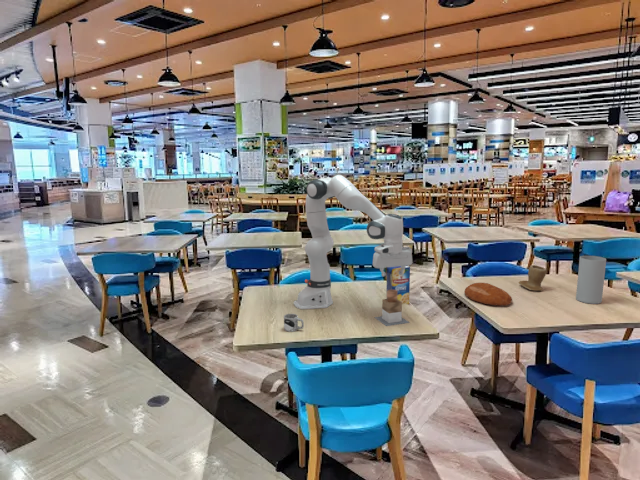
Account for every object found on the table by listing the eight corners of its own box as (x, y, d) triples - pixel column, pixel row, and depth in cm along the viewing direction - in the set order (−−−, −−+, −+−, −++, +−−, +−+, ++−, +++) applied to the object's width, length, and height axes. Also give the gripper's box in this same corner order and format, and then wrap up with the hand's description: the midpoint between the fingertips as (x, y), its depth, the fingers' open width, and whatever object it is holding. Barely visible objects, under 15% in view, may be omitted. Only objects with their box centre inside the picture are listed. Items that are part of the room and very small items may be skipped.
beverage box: (409, 305, 236) (410, 267, 232) (391, 307, 232) (392, 268, 229) (403, 301, 242) (404, 264, 238) (386, 303, 239) (386, 266, 235)
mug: (281, 330, 201) (281, 317, 200) (287, 325, 207) (287, 313, 206) (301, 333, 198) (300, 320, 196) (306, 328, 204) (306, 315, 203)
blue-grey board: (386, 329, 201) (386, 326, 201) (374, 320, 213) (374, 317, 213) (409, 325, 206) (410, 322, 205) (396, 316, 218) (396, 314, 217)
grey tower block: (388, 323, 205) (389, 313, 204) (382, 318, 211) (382, 308, 211) (401, 321, 207) (401, 311, 206) (394, 316, 214) (394, 307, 213)
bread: (489, 310, 227) (490, 294, 226) (453, 293, 257) (454, 279, 256) (522, 305, 234) (524, 290, 232) (484, 289, 264) (485, 276, 262)
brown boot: (548, 292, 257) (550, 268, 254) (529, 292, 257) (531, 268, 254) (536, 285, 271) (537, 262, 269) (517, 285, 272) (519, 262, 269)
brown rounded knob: (390, 302, 204) (390, 292, 204) (385, 299, 209) (385, 290, 208) (399, 301, 206) (399, 291, 205) (394, 298, 211) (394, 289, 210)
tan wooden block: (389, 313, 204) (389, 303, 203) (382, 308, 211) (382, 299, 210) (401, 311, 206) (401, 301, 205) (394, 307, 213) (394, 297, 212)
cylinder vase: (576, 296, 248) (580, 254, 244) (602, 299, 241) (606, 257, 236) (574, 301, 238) (578, 258, 234) (601, 305, 231) (606, 261, 226)
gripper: (408, 245, 209) (407, 272, 212) (371, 247, 203) (370, 275, 205) (415, 247, 203) (414, 275, 206) (377, 250, 197) (376, 278, 199)
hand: (392, 275), depth 205 cm, fingers open, 8 cm apart
